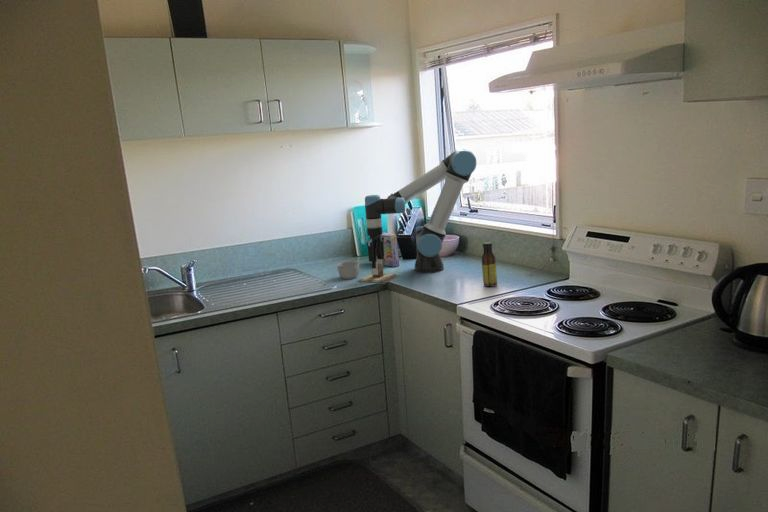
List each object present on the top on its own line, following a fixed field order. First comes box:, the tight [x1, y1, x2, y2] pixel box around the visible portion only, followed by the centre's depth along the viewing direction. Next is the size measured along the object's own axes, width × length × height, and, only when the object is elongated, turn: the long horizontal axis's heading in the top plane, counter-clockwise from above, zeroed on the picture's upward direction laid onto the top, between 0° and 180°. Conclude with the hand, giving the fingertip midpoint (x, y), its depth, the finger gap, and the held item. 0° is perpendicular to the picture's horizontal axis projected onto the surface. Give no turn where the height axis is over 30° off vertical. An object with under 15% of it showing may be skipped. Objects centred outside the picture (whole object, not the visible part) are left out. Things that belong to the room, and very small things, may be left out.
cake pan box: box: [376, 231, 400, 267], centre depth 316 cm, size 19×5×18 cm, turn 37°
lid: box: [359, 264, 396, 284], centre depth 286 cm, size 13×13×7 cm
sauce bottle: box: [481, 241, 498, 287], centre depth 259 cm, size 6×6×20 cm
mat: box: [356, 274, 400, 285], centre depth 287 cm, size 16×16×1 cm
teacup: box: [337, 260, 360, 280], centre depth 294 cm, size 14×11×8 cm
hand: (377, 273), depth 286 cm, fingers closed on lid, 4 cm apart
